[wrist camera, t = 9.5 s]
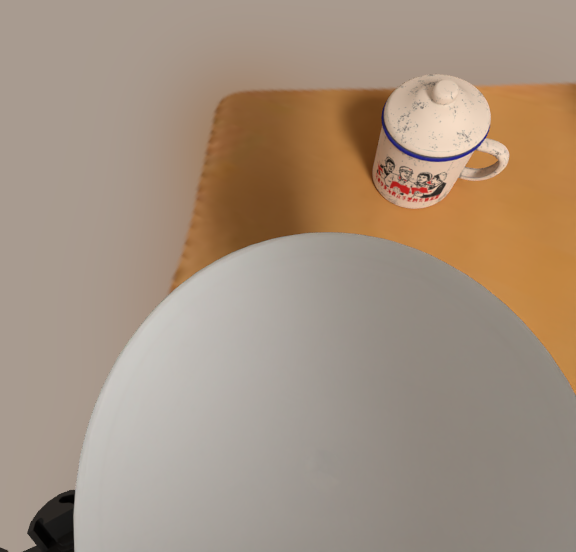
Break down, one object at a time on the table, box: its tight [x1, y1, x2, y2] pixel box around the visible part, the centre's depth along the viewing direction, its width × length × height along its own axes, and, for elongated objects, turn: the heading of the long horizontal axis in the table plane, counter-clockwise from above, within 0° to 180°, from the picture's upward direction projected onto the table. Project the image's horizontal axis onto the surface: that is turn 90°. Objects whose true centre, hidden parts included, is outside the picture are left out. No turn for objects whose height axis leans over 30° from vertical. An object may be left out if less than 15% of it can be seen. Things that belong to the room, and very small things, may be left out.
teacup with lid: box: [373, 74, 509, 208], centre depth 33 cm, size 12×9×12 cm
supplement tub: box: [73, 232, 576, 552], centre depth 13 cm, size 10×10×15 cm
